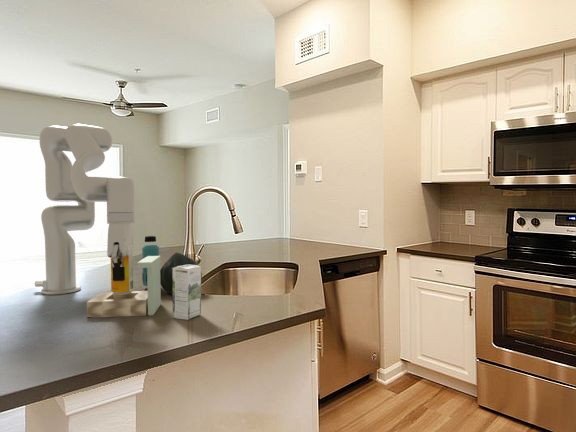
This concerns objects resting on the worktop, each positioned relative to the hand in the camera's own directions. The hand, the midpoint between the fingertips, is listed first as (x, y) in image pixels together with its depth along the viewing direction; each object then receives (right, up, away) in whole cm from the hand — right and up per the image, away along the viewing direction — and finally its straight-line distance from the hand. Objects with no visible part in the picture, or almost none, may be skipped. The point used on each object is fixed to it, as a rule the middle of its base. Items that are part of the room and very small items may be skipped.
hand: (122, 277), depth 117 cm
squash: (+11, -9, +25) cm, 29 cm away
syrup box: (+21, -10, -6) cm, 24 cm away
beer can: (0, -5, 0) cm, 5 cm away
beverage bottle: (-2, -9, +31) cm, 33 cm away
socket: (0, -10, 0) cm, 10 cm away
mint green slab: (+8, -10, +1) cm, 13 cm away
